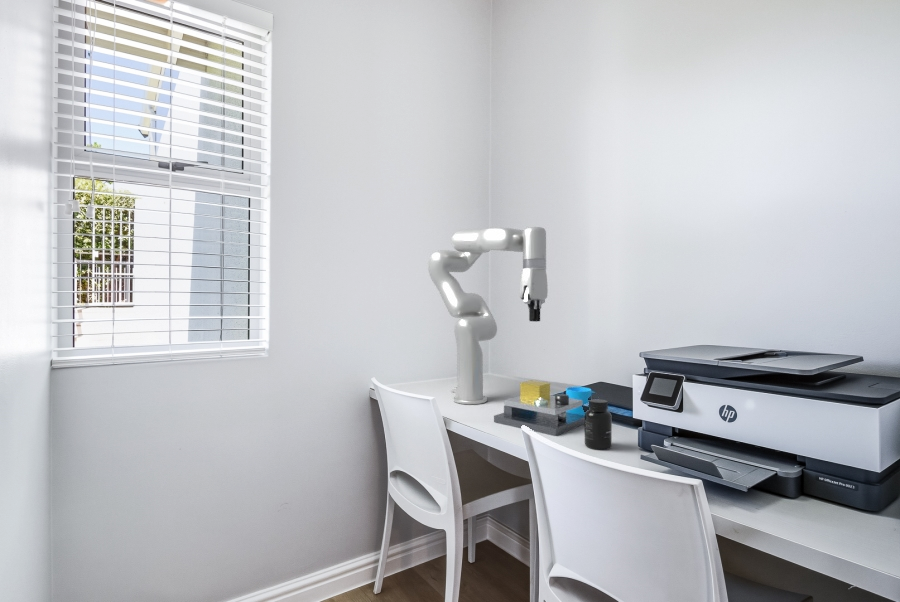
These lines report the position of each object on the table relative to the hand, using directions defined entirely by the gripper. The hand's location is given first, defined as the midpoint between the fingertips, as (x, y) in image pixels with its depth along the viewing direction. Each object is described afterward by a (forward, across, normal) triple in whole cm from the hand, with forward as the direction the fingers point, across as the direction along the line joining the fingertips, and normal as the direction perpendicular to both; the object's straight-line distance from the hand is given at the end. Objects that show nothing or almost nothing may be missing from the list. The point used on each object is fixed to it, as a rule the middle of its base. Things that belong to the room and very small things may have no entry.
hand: (534, 321), depth 158 cm
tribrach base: (+31, +6, +6) cm, 32 cm away
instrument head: (+26, +6, +7) cm, 27 cm away
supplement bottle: (+31, +16, +30) cm, 46 cm away
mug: (+31, -14, +10) cm, 36 cm away
